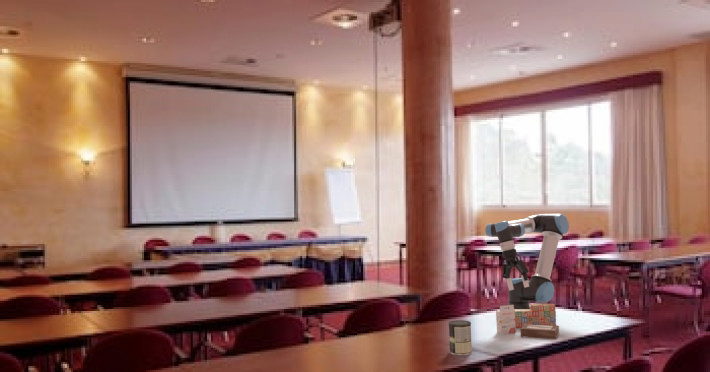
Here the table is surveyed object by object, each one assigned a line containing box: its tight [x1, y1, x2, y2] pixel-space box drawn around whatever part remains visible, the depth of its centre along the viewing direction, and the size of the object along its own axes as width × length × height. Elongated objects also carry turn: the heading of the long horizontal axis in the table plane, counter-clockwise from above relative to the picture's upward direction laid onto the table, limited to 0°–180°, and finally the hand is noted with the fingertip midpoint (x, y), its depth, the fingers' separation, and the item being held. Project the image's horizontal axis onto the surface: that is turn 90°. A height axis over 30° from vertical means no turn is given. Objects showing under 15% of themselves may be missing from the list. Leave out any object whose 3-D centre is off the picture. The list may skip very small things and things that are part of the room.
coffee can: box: [448, 319, 473, 356], centre depth 294 cm, size 10×10×14 cm
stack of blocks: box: [514, 302, 557, 329], centre depth 345 cm, size 21×6×12 cm, turn 85°
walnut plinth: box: [520, 324, 560, 340], centre depth 325 cm, size 13×17×4 cm
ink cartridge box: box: [495, 304, 516, 335], centre depth 333 cm, size 9×5×15 cm, turn 105°
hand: (519, 288), depth 338 cm, fingers open, 13 cm apart
